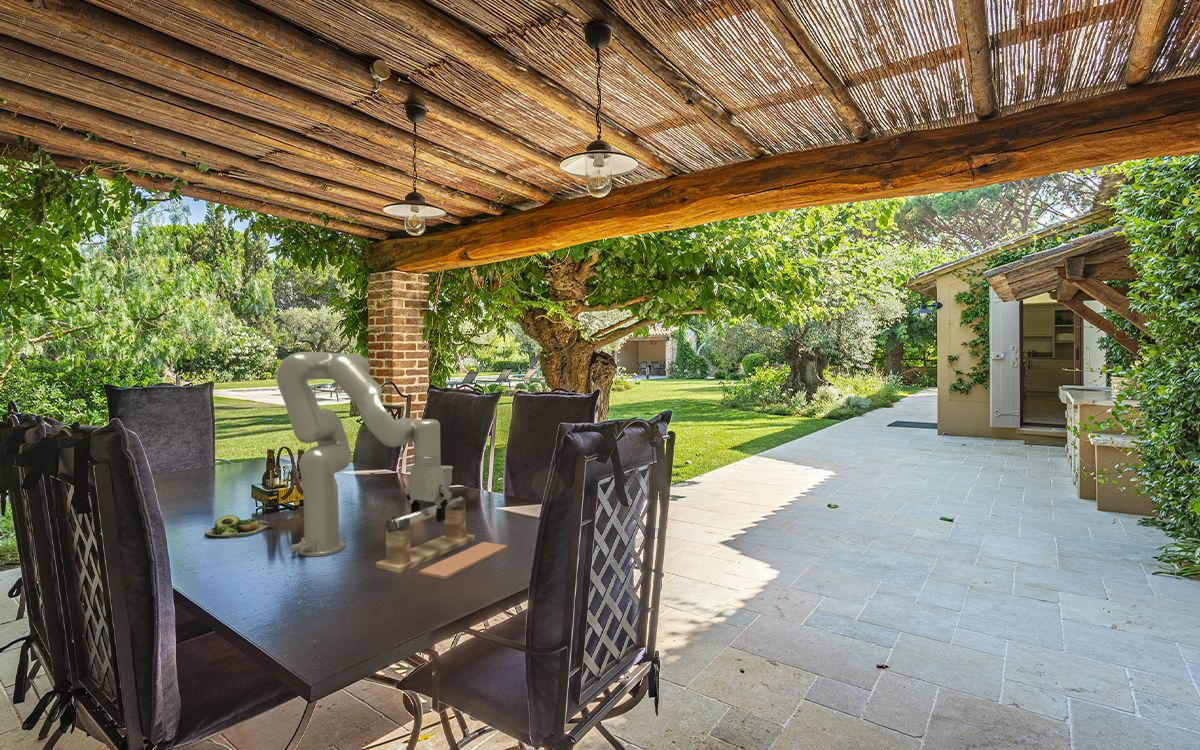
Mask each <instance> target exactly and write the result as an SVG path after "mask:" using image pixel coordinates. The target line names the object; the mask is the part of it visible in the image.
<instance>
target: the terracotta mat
mask: <svg viewBox="0 0 1200 750" xmlns="http://www.w3.org/2000/svg"><path fill="white" fill-rule="evenodd" d="M508 548H509V547H508V545H507V544H501V543H493V542H487V541H482V542H480V543H478V544H476V545H473V546H470V547H469V548H466V549H465V550H462V551H459V552H458V553H455V554H453V555H451V556H449V557H447V558H444V559H443V560H441V561H438V562H435V563H433V564H431V565H430V566H426V567H425V568H422V569H420V570H419V572H418V574H419V575H422V576H423V575H424V576H426V577H427V576H428V577H433V578H438V579H442V580H447V579H449V578H450V577H453V576H455V575H457V574H458V573H461V572H463V571H465V570H467V569H470V568H471V567H473V566H474V565H475V566H476V565H477V564H479V563H481V562H483V561H485V560H486V559H490V558H492V557H493V556H495V555H497V554H499V553H501V552H503V551H505V550H507V549H508Z"/></svg>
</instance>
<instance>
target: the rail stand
mask: <svg viewBox="0 0 1200 750" xmlns="http://www.w3.org/2000/svg"><path fill="white" fill-rule="evenodd" d="M453 499H454V497H452V496H451V499H450V500H453ZM466 503H467V502H466V498H464V499H461V500H458V501H457V509H454V510H451V511H448V512H445V520H443V521H444V535H443V534H442V535H441V536H439V537H437V538H434V539H431V540H429V541H426V542H424V543H421V544H419V545H417V546H414V547H411V525H410V518H405V519H402V520H399V529H397V530H396V531H395V532H392V533H389V532H387V530H386V529H385V554H386V558H384V559H381V560H379V561H376V562H375V569H379V570H383V571H388V572H390V573H391V572H392V573H395V574H401V573H403V572H404V573H405V572H406V571H408V570H411V569H412V568H415V567H417V566H420V565H422V564H424V563H426V562H429V561H432V560H433V559H435V558H438V557H440V556H442V555H444V554H447V553H450V552H451V551H453V550H456V549H458V548H460V547H463V546H465V545H468V544H469V543H471V542H474V541H476V536H475V535H473V534H467V523H466V522H467V516H466V515H467V513H466V511H467V510H466V508H467V507H466V506H467V505H466ZM396 518H397V515H391V516H388V517H386V518H385V522H386V521H387V520H389V519H396Z"/></svg>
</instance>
